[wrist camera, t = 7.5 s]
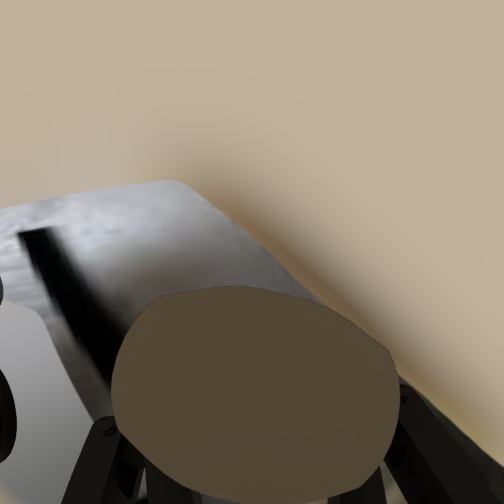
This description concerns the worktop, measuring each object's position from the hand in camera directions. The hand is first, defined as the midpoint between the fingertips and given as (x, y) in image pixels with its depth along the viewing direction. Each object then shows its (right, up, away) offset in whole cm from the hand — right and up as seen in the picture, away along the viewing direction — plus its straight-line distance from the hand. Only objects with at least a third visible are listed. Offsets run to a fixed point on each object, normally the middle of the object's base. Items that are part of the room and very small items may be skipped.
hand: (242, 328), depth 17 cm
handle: (0, -6, +3) cm, 7 cm away
